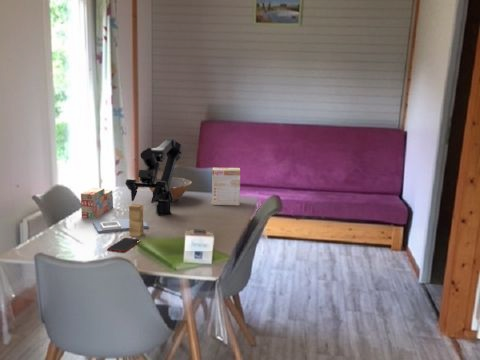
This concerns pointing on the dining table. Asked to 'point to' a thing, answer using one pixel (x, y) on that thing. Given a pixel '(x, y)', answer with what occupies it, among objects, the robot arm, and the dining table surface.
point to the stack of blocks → (96, 202)
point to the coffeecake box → (226, 186)
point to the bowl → (177, 186)
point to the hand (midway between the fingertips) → (142, 201)
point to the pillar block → (136, 219)
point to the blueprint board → (114, 225)
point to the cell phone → (123, 245)
